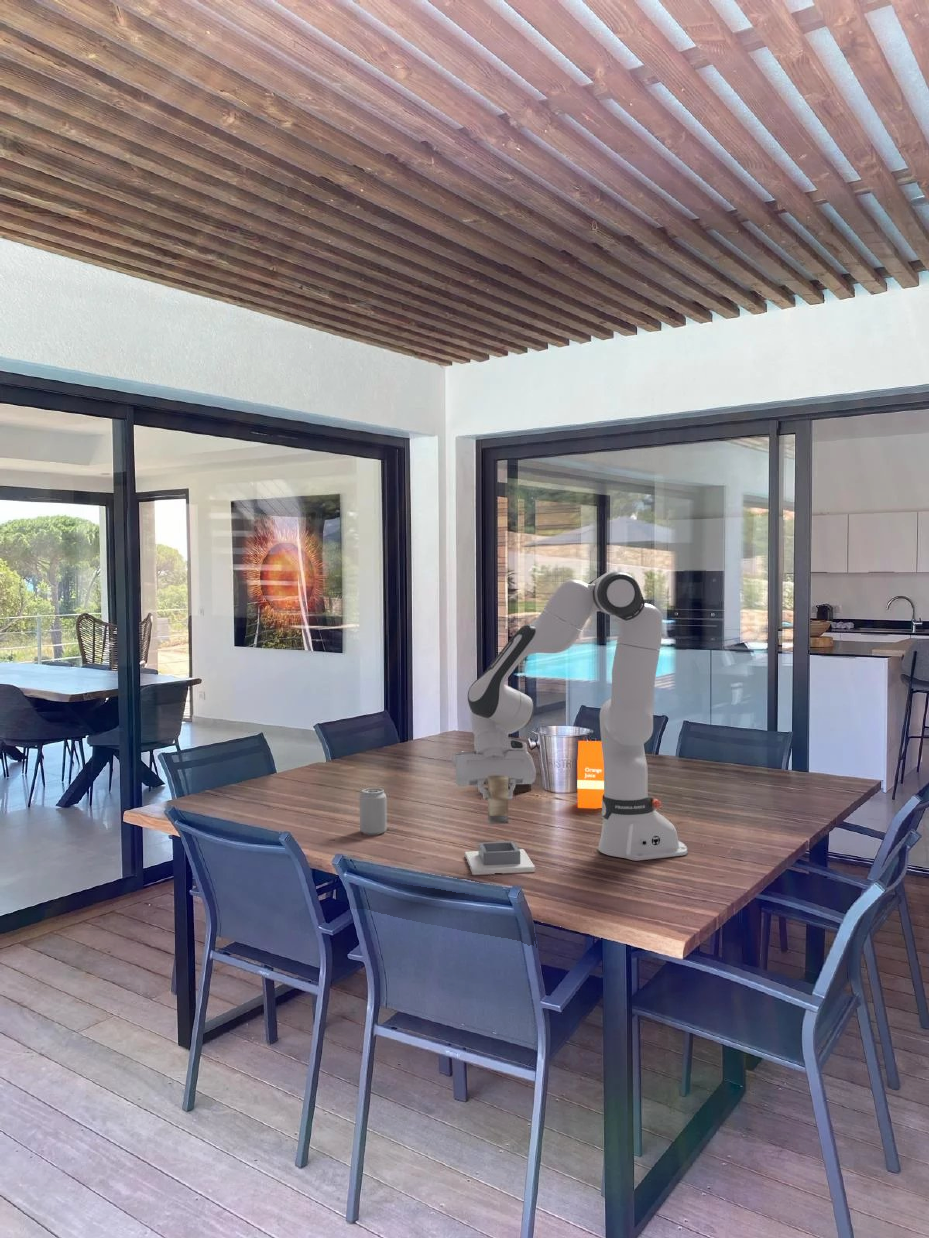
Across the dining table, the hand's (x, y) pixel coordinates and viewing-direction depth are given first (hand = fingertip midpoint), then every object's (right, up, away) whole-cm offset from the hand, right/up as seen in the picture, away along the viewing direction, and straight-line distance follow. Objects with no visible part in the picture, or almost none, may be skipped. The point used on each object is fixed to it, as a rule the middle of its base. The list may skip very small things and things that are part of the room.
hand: (498, 797), depth 227 cm
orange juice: (+31, -14, +59) cm, 69 cm away
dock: (0, -16, +1) cm, 17 cm away
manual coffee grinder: (+5, -13, +82) cm, 84 cm away
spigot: (0, -6, +1) cm, 6 cm away
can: (-34, -16, +31) cm, 49 cm away
